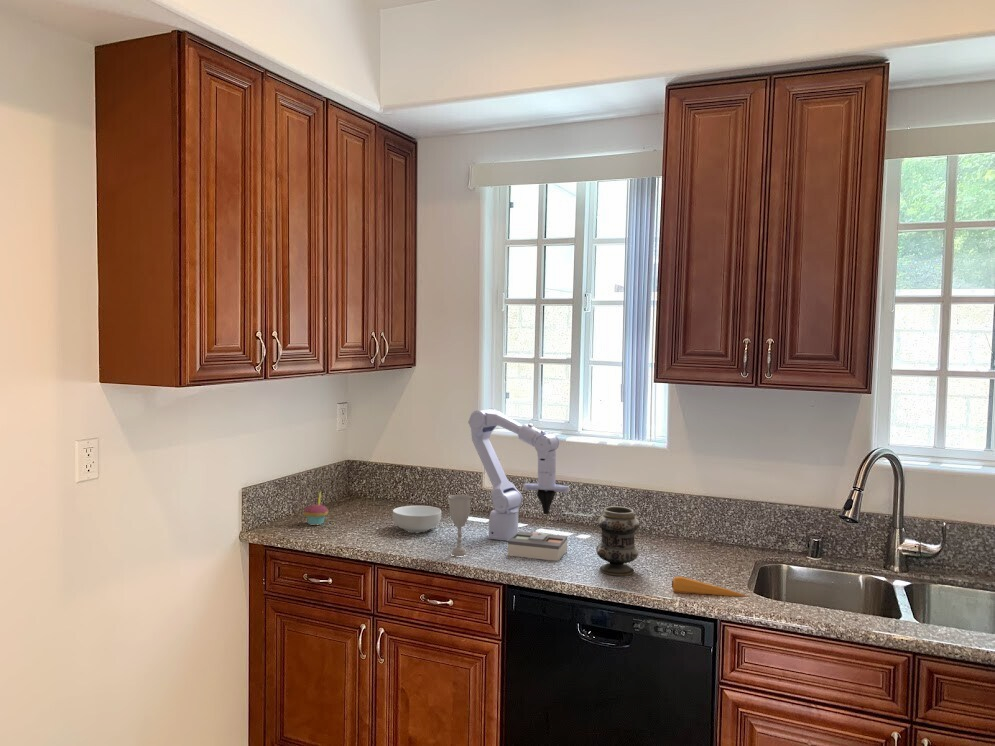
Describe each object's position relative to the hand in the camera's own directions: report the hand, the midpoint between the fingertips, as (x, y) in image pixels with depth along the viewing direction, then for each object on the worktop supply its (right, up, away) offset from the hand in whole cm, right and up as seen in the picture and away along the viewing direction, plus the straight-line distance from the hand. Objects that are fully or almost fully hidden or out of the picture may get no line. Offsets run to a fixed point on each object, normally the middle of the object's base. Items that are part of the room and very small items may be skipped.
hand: (546, 513), depth 237 cm
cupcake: (-80, -8, +22) cm, 83 cm away
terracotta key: (+2, -9, -9) cm, 13 cm away
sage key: (-8, -9, -6) cm, 14 cm away
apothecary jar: (+19, -12, -24) cm, 33 cm away
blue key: (-3, -8, -8) cm, 12 cm away
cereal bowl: (-44, -9, +17) cm, 48 cm away
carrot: (+40, -14, -43) cm, 60 cm away
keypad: (-3, -11, -8) cm, 14 cm away
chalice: (-28, -11, -12) cm, 32 cm away
